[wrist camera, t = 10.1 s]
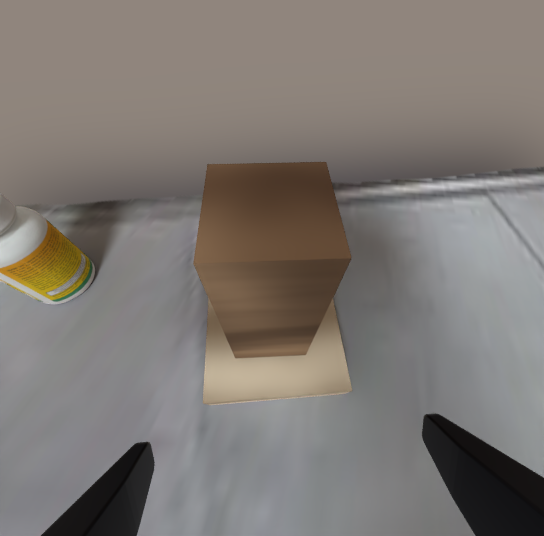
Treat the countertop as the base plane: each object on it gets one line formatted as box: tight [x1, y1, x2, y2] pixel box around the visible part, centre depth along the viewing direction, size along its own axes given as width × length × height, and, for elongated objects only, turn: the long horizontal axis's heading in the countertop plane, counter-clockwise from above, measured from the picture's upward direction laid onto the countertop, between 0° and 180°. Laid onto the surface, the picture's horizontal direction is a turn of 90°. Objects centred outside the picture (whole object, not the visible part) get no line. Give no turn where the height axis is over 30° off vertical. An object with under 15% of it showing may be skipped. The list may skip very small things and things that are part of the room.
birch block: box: [203, 299, 352, 405], centre depth 21 cm, size 10×10×3 cm
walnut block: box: [193, 162, 352, 358], centre depth 14 cm, size 5×5×12 cm
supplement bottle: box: [0, 193, 95, 304], centre depth 20 cm, size 5×5×10 cm
